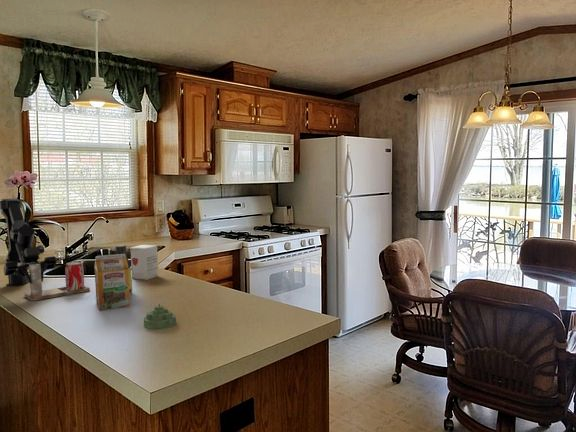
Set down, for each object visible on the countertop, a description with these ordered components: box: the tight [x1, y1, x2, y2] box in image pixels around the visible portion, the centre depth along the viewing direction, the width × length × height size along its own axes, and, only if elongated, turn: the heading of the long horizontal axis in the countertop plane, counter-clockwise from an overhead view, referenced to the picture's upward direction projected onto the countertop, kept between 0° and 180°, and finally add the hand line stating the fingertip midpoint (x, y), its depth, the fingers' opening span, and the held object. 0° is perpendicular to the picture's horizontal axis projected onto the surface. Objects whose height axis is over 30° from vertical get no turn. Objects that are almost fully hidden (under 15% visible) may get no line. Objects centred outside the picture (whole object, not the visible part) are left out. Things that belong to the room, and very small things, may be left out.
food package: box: [94, 253, 131, 312], centre depth 177 cm, size 11×11×19 cm
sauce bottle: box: [115, 244, 133, 294], centre depth 195 cm, size 7×6×20 cm
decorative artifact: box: [143, 303, 177, 331], centre depth 154 cm, size 10×7×10 cm
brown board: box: [23, 264, 91, 302], centre depth 196 cm, size 22×10×13 cm, turn 135°
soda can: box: [64, 261, 85, 291], centre depth 200 cm, size 7×7×12 cm
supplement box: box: [130, 244, 159, 281], centre depth 225 cm, size 9×9×15 cm
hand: (36, 282), depth 189 cm, fingers open, 4 cm apart
